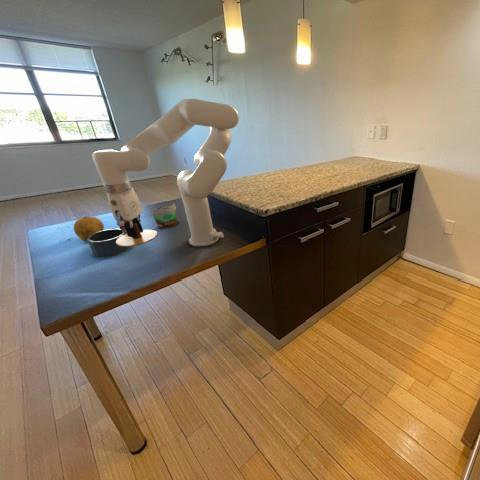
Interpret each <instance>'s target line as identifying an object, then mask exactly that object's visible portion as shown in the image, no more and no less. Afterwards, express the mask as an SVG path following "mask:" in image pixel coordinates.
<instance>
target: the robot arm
mask: <svg viewBox="0 0 480 480" xmlns="http://www.w3.org/2000/svg"><path fill="white" fill-rule="evenodd" d="M239 121H240V115H239V113H238V111H237V109H236V108H235V107H234V106H232V105H230V104H226V103H221V102H220V103H219V102H214V101H209V100H204V99H199V98H183V99H181V100H180V101H178V102H176V103H175V105H173V106H172V108H170V109H169V110H168V111H166V112H165V113H164V114H163V115H162V116H160V117H159V118H158V119H157V120H156V121H155V122H153V123H152V124H151V125H149V126H148V127H147V128H145V129H144V130H143V131H141V132H139V133H138V134H137V135H136V136H134V137H133V138H131V140H130V141H128V142H127V143H126V144H125V145H124V146H123V147H121V149H120V151H118V150H114V149H102V150H97V151H94V152H92V154H91V158H92V161H93V163H94V165H95V168H96V170H97V173H98V176H99V178H100V180H101V182H102V185H103V188H104V191H105V193H106V195H107V200H108V204H109V207H110V208H109V209H110V211H111V215H112V216H113V219H114V220H115V221H116V226H118V227H119V226H123V228H125V229H126V232H127V234H128V237H137V236H138V234H137V232H136V229H135V227H133V225H132V222H133V223H137V225H138V227H139V230H140V232H143V230H144V229H143V227H142V224H141V223H142V222H141V221H142V220H141V214H143V212H144V209H143V206H142V203H141V201H140V199H139V197H138V194H137V192H136V191H135V190H134V188H133V187H132V184H131V181H130V179H129V176H128V172H142V171H146V170H147V169H148V168H149V167H150V164H151V159H150V157H151V156H152V155H153V154H154V153H155V152H157V151H158V150H160V149H162V148H164V147H167V146H171V145H173V144H175V143H176V142H177V141H179V140H180V139H182V137H183V136H184V135H185V134H187V133H188V132H189V131H190V130H191V129H193V128H194V127H195V126H200V127H201V126H202V127H207V128H208V127H209V129H210V131H209V134H208V136H207V138H206V139H205V141H204V142H203V144H202V145H201V146H200V148H199V149H198V151H197V152H196V153H195V155H194V158H193V163H194V165H195V167H196V168H195V170H194V169H185V170H182V171H181V172H179V174H178V175H177V178H176V184H177V188H178V192H179V194H180V197H181V200H182V203H183V207H184V212H185V216H186V220H187V224H188V228H189V232H190V236H191V237H190V238H189V239H188V243H189V245H191V246H194V247H205V246H206V247H207V246H208V247H209V246H212V245H214V244H215V243H217V242H218V241H219V240H220V239H224V237H225V236H224V233H223V231H217V229H216V228H214V226H213V220H212V214H211V209H210V203H209V200H208V197H209V196H210V195H211V194H212V192H213V191H214V190H215V188H216V187H217V186H218V184H219V183H220V181H221V179H222V178H223V177H224V175H225V173H226V171H227V169H228V168H227V166H228V165H227V164H228V163H227V159H226V157H225V154H226V152H227V151H228V149H229V148H230V146H231V143H232V129H234V128H235V127H237V126H238V123H239ZM126 222H128V223H126Z"/></svg>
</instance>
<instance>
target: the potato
mask: <svg viewBox="0 0 480 480" xmlns="http://www.w3.org/2000/svg"><path fill="white" fill-rule="evenodd" d="M104 227H105V226H104V223H103V221H102V220H101V219H99V218H98V217H96V216H83V217H80V218H77V219H76V221H74V224H73V231H74V234H75V235H76V237H78V238H79V239H80V240H81V241H82V242H88V241H87V238H88V237H89V236H90V235H92V234H94V233H96V232H99V231H103V230H105V229H104Z"/></svg>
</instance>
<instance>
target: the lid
mask: <svg viewBox="0 0 480 480" xmlns="http://www.w3.org/2000/svg"><path fill="white" fill-rule="evenodd" d="M132 225H133V227H135V229H136V232H137V234H138V236H137V237H128V234H125V235H123V236H121V237H119V238H118V239H117V240H116V244H117V245H118V246H122V247H130V248H132V247H136V246H137V247H138V246H141V245H144V244H147V243H149V242H151V241H153V240H154V239H155V240H156V239H157V237H158V235H159V234H158V232H157V230H154V229H143V232H140V230H139V227H138V225H137V223H132Z"/></svg>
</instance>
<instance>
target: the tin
mask: <svg viewBox="0 0 480 480" xmlns="http://www.w3.org/2000/svg"><path fill="white" fill-rule="evenodd" d="M125 234H126V231H125V230H124V229H120V227H118V228H108V229H103V231H99V232H96V233H94V234H92V235H90V236H89V237H88V238H87V241H86V242H87V243H88V246H89V248H90V250H91V252H92V254H93V256H94V257H96V258H111V257H114V256H118V255H121V254H123V253H125V252H127V251H128V250H129V249H131V247H122V246H118V245H117V244H116V240H117V239H118V238H119V237H121V236H123V235H125Z"/></svg>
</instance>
